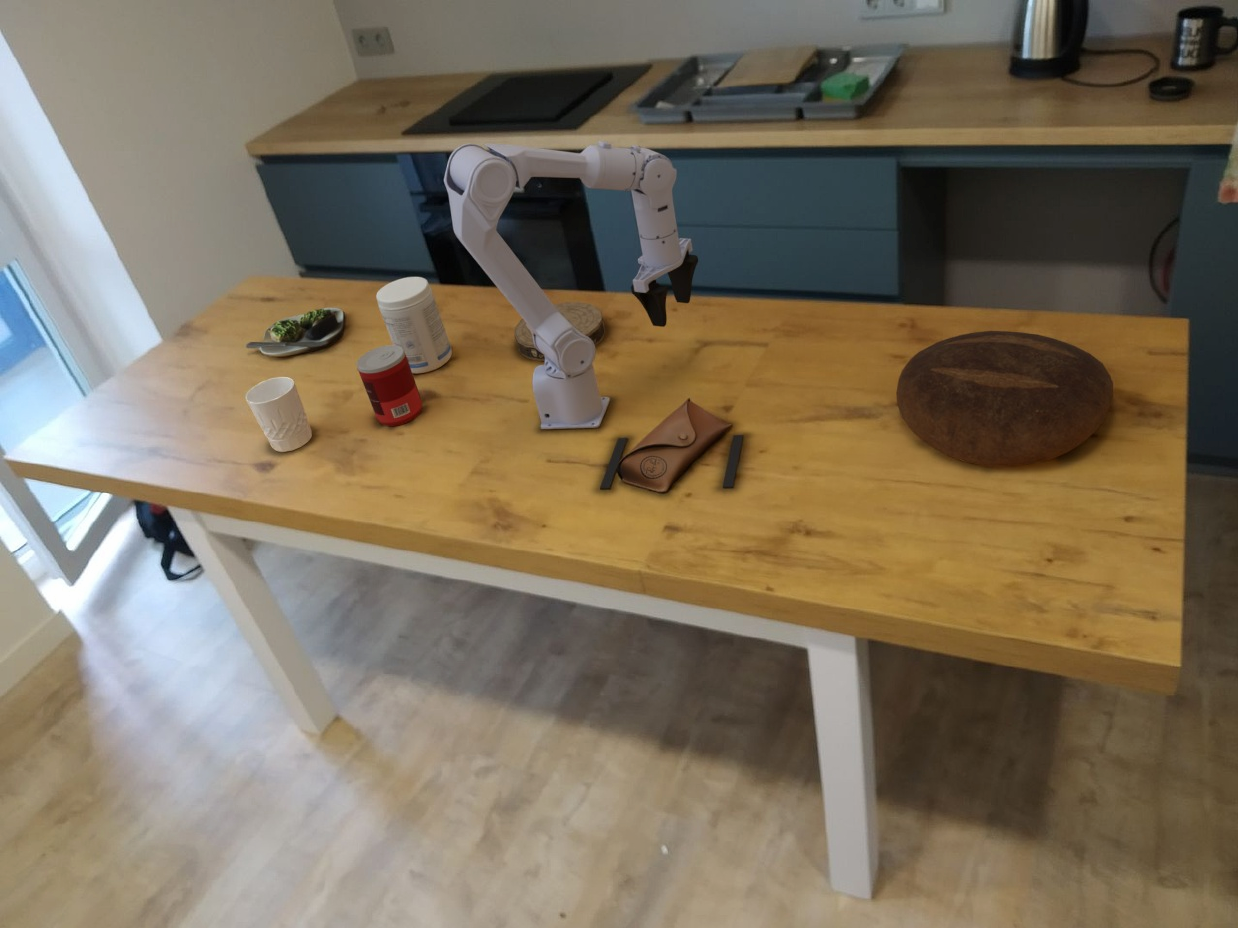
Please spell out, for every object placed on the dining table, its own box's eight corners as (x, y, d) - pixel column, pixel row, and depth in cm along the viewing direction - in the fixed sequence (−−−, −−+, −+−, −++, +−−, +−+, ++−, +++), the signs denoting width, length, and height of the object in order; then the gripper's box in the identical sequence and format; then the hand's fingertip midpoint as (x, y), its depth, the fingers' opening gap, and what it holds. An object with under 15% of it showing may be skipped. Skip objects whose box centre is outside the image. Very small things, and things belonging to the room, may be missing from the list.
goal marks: (600, 489, 137) (599, 487, 137) (618, 439, 146) (618, 438, 146) (733, 488, 132) (732, 486, 132) (743, 436, 141) (743, 434, 141)
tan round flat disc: (545, 314, 185) (541, 300, 183) (620, 319, 178) (617, 304, 176) (501, 357, 174) (497, 342, 172) (579, 364, 167) (576, 349, 165)
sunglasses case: (667, 493, 133) (639, 452, 131) (635, 502, 138) (609, 464, 137) (736, 422, 143) (711, 385, 142) (704, 434, 149) (680, 398, 147)
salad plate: (243, 373, 188) (233, 352, 185) (256, 331, 203) (247, 311, 200) (342, 349, 188) (334, 328, 186) (348, 310, 203) (341, 289, 200)
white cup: (273, 460, 159) (249, 408, 154) (265, 439, 165) (241, 389, 160) (320, 441, 162) (298, 390, 156) (310, 421, 168) (288, 371, 162)
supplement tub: (439, 342, 183) (416, 270, 175) (462, 359, 176) (439, 284, 168) (392, 364, 179) (366, 291, 171) (414, 381, 173) (388, 306, 164)
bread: (928, 347, 151) (928, 296, 146) (1125, 367, 138) (1133, 311, 133) (868, 452, 133) (866, 398, 128) (1089, 487, 119) (1096, 428, 114)
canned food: (432, 402, 165) (413, 345, 159) (405, 429, 160) (384, 371, 153) (396, 399, 169) (375, 343, 162) (368, 425, 163) (346, 368, 157)
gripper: (659, 210, 152) (672, 289, 160) (609, 250, 143) (625, 333, 151) (699, 212, 149) (710, 293, 156) (651, 254, 139) (665, 338, 147)
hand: (671, 313), depth 153 cm, fingers open, 7 cm apart
